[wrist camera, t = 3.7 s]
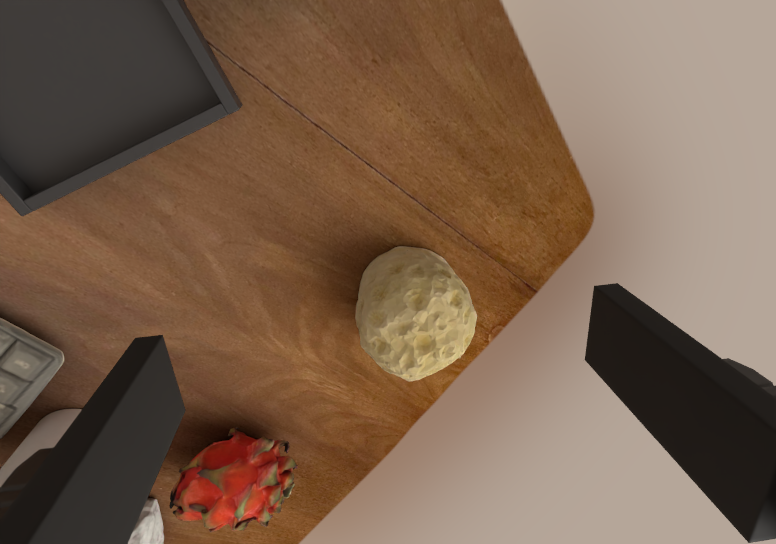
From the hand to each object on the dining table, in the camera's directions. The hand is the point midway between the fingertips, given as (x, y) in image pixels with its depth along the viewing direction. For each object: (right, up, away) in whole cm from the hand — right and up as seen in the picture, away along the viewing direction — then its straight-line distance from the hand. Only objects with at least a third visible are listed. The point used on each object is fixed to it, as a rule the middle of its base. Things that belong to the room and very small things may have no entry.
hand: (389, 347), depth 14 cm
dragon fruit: (-15, -15, +30) cm, 36 cm away
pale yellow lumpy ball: (+1, +1, +25) cm, 25 cm away
